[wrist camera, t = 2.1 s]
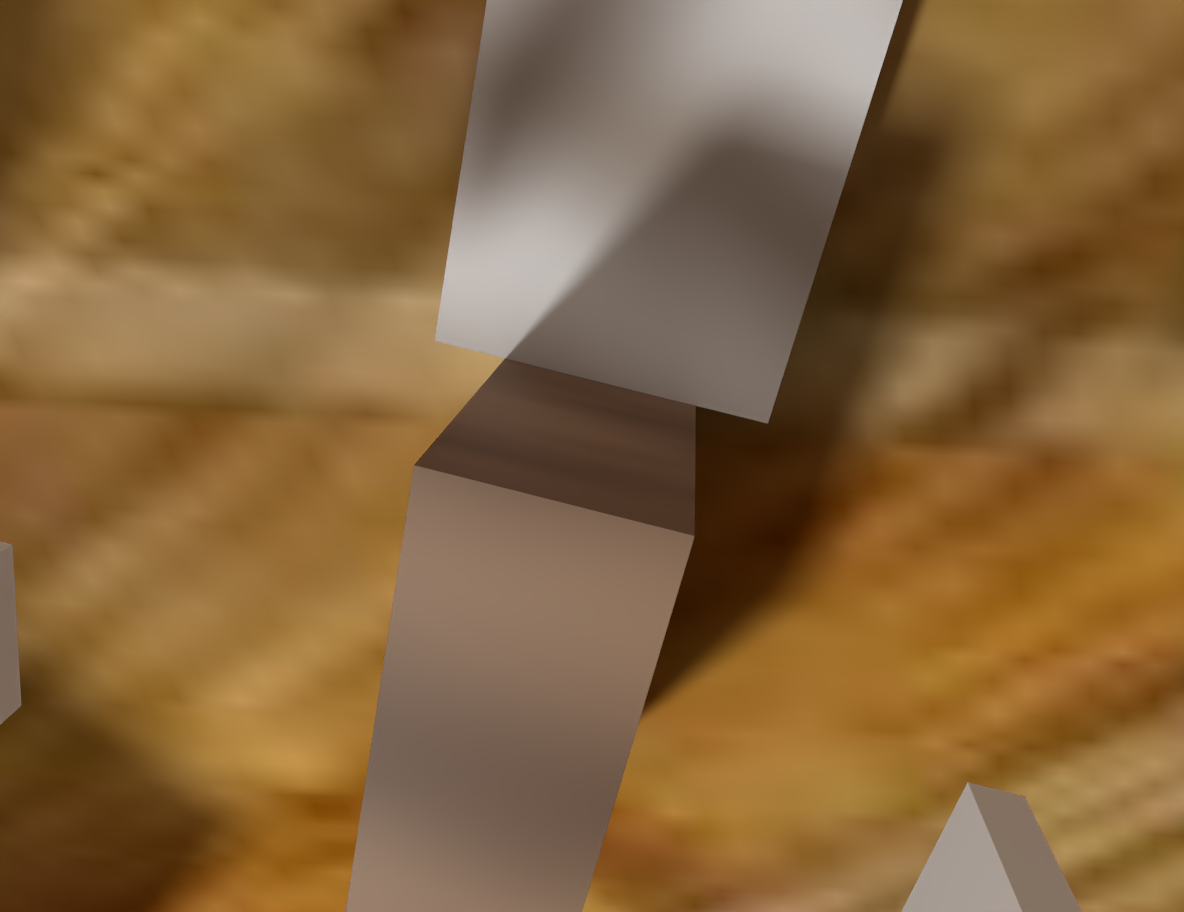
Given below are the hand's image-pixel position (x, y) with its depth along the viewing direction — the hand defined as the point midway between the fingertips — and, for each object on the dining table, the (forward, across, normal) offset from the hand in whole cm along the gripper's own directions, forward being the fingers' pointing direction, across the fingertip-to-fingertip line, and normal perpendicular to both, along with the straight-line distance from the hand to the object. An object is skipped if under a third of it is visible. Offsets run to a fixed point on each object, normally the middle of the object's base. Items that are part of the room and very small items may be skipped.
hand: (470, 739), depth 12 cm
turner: (+8, 0, -3) cm, 9 cm away
